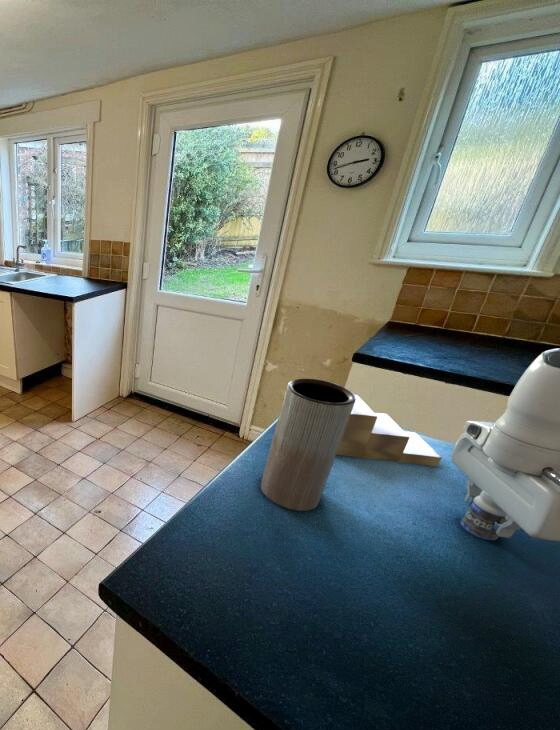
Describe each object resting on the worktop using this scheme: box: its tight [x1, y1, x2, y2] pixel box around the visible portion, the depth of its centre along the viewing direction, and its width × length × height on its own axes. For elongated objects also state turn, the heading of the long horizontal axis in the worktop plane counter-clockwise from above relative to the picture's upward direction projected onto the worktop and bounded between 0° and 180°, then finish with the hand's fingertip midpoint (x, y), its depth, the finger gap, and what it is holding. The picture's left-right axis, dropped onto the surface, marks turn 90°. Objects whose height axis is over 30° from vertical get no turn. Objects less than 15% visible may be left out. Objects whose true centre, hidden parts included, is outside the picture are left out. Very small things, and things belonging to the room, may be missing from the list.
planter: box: [260, 378, 356, 512], centre depth 75 cm, size 10×10×23 cm
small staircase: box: [336, 394, 443, 467], centre depth 91 cm, size 21×10×11 cm, turn 76°
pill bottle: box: [460, 490, 508, 541], centre depth 69 cm, size 5×5×8 cm
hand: (485, 518), depth 70 cm, fingers open, 5 cm apart
